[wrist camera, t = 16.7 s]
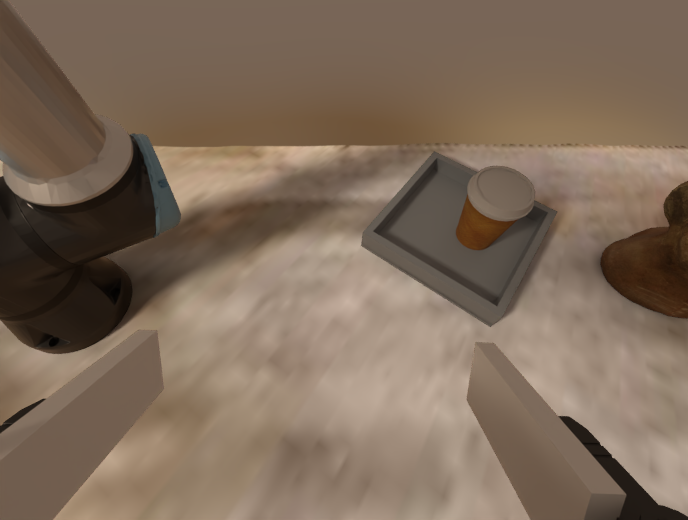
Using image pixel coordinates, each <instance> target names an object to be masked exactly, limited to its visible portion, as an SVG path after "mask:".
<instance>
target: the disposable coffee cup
mask: <svg viewBox="0 0 688 520" xmlns="http://www.w3.org/2000/svg"><path fill="white" fill-rule="evenodd" d="M467 192H468V194H467V198H466V201H465V203H464V206H463V210H462V213H461V216H460V219H459V223H458V226H457V228H456V236H457V239H458V240H459V242H460V243H461V244H462V245H464V246H465V247H467V248H469V249H472V250H484V249H486V248H488V247H489V246H490V245H491V244H492V243H493V242H494V241H495V240H496V239H498V238H499V237H500V236H501V235H502V234H503V233H504V232H505V231H506V230H507V229H508V228H509V227H510V226H512V225H513V224H514V223H515V222H516V221H517V220H518V219H520V218H522V217H524V216H526V215H527V214H528V213H529V212H530V211H531V210H532V208H533V206H534V199H535V190H534V187H533V185H532V183H531V182H530V180H529V179H528V178H527V177H526V176H524V175H523V174H521V173H520V172H518V171H516V170H514V169H512V168H508V167H504V166H490V167H486V168H484V169H482V170H480V171H479V172H478V173H477V174H475V175H474V176H473V177H472V178H471V179H470V181H469V183H468V186H467Z"/></svg>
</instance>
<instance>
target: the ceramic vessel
mask: <svg viewBox="0 0 688 520" xmlns="http://www.w3.org/2000/svg"><path fill="white" fill-rule="evenodd" d="M664 213H665V216H666V218H667V220H668V222H669V225H670V226H669V227H657V228H650V229H646V230H644V231H641V232H638V233H636V234H634V235H632V236H630V237H629V238H627V239H622V240H619V241H617V242H614V243H613V244H611V245H609V246H608V247H607V248H606V249H605V251H604V252H603V254H602V258H601V266H602V270H603V274H604V276H605V278H606V279H607V281H608V282H609V283H610V284H611V285H612V287H613V288H614V289H616V290H617V291H618V292H619V293H620V294H621V295H623V296H624V297H626V298H627V299H628V300H630V301H632V302H634V303H636V304H639V305H641V306H643V307H645V308H648V309H650V310H653V311H656V312H660V313H663V314H665V315H667V316H672V317H678V318H688V181H687V182H685V183H682V184H680V185H679V186H678V187H676V188H675V189H674V190H672V192H671V193H670V194H669V195H668V197H667V198H666V200H665V203H664Z"/></svg>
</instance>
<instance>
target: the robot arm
mask: <svg viewBox="0 0 688 520" xmlns="http://www.w3.org/2000/svg"><path fill="white" fill-rule="evenodd" d="M0 160H1V161H3V176H2V177H0V320H1V321H2V322H3V323H4V324H5V325H6V326H7V328H8V329H9V330H10V331H11V332H12V333H13V334H14V335H15V336H16V337H17V338H18V339H19V340H20V341H21V342H22V343H24V344H26V345H27V346H29V347H32V348H34V349H37V350H40V351H43V352H46V353H52V354H63V353H70V352H74V351H78V350H81V349H83V348H86V347H88V346H90V345H92V344H94V343H95V342H97V341H99V340H100V339H102V338H103V337H104V336H106V335H107V334H108V333H109V332H110V331H111V330H112V329H113V328H114V327H115V326H116V325H117V324H118V323H119V322H120V320H121V319H122V317H123V316H124V314H125V313H126V311H127V309H128V306H129V304H130V300H131V295H132V286H131V282H130V279H129V277H128V275H127V274H126V272H125V271H124V270H123V269H122V268H120V267H119V266H118V265H117V264H116V263H114V262H113V261H111V260H109V259H108V258H105V257H103V256H106V255H108V254H111V253H113V252H116V251H119V250H121V249H124V248H127V247H129V246H132V245H134V244H137V243H140V242H142V241H145V240H148V239H150V238H155V237H157V236H158V235H159V234H160V233H162V232H164V231H167V230H169V229H171V228H173V227H175V226H176V225H178V223H179V222H180V219H181V213H180V210H179V208H178V205H177V202H176V200H175V198H174V195H173V193H172V191H171V188H170V186H169V184H168V182H167V179H166V177H165V174H164V172H163V169H162V167H161V165H160V162H159V160H158V158H157V155H156V153H155V151H154V149H153V147H152V144H151V142H150V140H149V138H148V137H147V136H146V135H144V134H131V135H129V134H128V133H127V132H126V131H125V130H124V128H123V127H122V126H121V125H120V124H118V123H117V122H116V121H114V120H112V119H110V118H107V117H104V116H101V115H97V114H94V113H93V112H92V110H91V109H90V107H89V106H88V105H87V103H86V102H85V101H84V100H83V98H82V97H81V95H80V94H79V93H78V92H77V90H76V89H75V87H74V86H73V85H72V83H71V82H70V81H69V79H68V78H67V77H66V75H65V74H64V73H63V71H62V70H61V69H60V67H59V66H58V65H57V63H56V62H55V61H54V59H53V58H52V57H51V55H50V54H49V53H48V51H47V50H46V49H45V47H44V46H43V45H42V43H41V42H40V41H39V39H38V38H37V37H36V35H35V34H34V33H33V31H32V30H31V28H30V27H29V26H28V24H27V23H26V22H25V20H24V19H23V18H22V17H21V15H20V14H19V13H18V11H17V10H16V9H15V7H14V6H13V4H12V3H11V2H10V1H9V0H0ZM163 389H164V385H163V376H162V368H161V359H160V350H159V342H158V333H157V331H155V330H138V331H136V332H135V333H134V334H132V335H131V336H130V337H128V338H127V339H126V340H124V341H123V342H122V343H120V344H119V345H118V346H116V347H115V348H114V349H112V350H111V351H110V352H108V353H107V354H106V355H104V356H103V357H102V358H100V359H99V360H98V361H96V362H95V363H94V364H92V365H91V366H90V367H88V368H87V369H86V370H84V371H83V372H82V373H80V374H79V375H78V376H76V377H75V378H74V379H72V380H71V381H70V382H68V383H67V384H66V385H64V386H63V387H62V388H60V389H59V390H58V391H56V392H55V393H54V394H52V395H51V396H50V397H48V398H47V399H42V400H40V401H38V402H36V403H34V404H32V405H30V406H28V407H26V408H24V409H22V410H20V411H19V412H17V413H16V414H15V415H13V416H12V417H11V418H9V419H8V420H6V421H5V422H4V423H3V425H2V426H0V520H53V519H54V518H55V516H56V515H57V514H58V513H59V512H60V511H61V509H62V508H63V507H64V506H65V505H66V503H67V502H68V501H69V500H70V499H71V498H72V496H73V495H74V494H75V493H76V492H77V491H78V489H79V488H80V487H81V486H82V485H83V483H84V482H85V481H86V480H87V479H88V478H89V476H90V475H91V474H92V473H93V472H94V470H95V469H96V468H97V467H98V466H99V465H100V463H101V462H102V461H103V460H104V459H105V458H106V456H107V455H108V454H109V453H110V452H111V450H112V449H113V448H114V447H115V446H116V445H117V443H118V442H119V441H120V440H121V439H122V438H123V436H124V435H125V434H126V433H127V432H128V430H129V429H130V428H131V427H132V426H133V425H134V423H135V422H136V421H137V420H138V419H139V417H140V416H141V415H142V414H143V413H144V412H145V410H146V409H147V408H148V407H149V406H150V405H151V403H152V402H153V401H154V400H155V399H156V397H157V396H158V395H159V394H160V393H161V392H162V390H163ZM467 401H468V403H469V405H470V407H471V409H472V411H473V413H474V414H475V416H476V418H477V420H478V422H479V424H480V426H481V428H482V429H483V431H484V433H485V435H486V437H487V439H488V441H489V443H490V444H491V446H492V448H493V450H494V452H495V454H496V456H497V458H498V459H499V461H500V463H501V465H502V467H503V469H504V471H505V473H506V474H507V476H508V478H509V480H510V482H511V484H512V486H513V488H514V489H515V491H516V493H517V495H518V497H519V499H520V501H521V503H522V504H523V506H524V508H525V510H526V512H527V514H528V516H529V517H530V519H531V520H688V517H687V516H686V515H684V514H682V513H680V512H679V511H676V510H673V509H671V508H668V507H665V506H661V505H658V504H657V503H656V502H655V501H654V500H653V498H652V497H651V496H650V495H649V494H648V493H647V492H646V491H645V490H644V489H643V488H642V487H641V486H640V485H639V484H638V483H637V482H636V480H635V479H634V478H633V477H632V476H631V475H630V474H629V473H628V472H627V471H626V470H625V469H624V468H623V467H622V466H621V465H620V464H619V463H618V461H617V460H616V459H615V458H612V455H611V454H610V453H609V452H608V451H607V450H606V449H605V448H604V447H603V446H601V445H600V442H599V441H598V440H597V439H596V438H595V437H594V436H593V435H592V434H591V433H590V432H589V431H588V430H587V429H586V428H585V427H583V426H582V425H580V424H579V423H578V422H576V421H575V420H573V419H572V418H570V417H568V416H557V415H556V413H555V412H554V411H553V410H552V409H551V408H550V407H549V405H548V404H547V403H546V402H545V401H544V400H543V399H542V397H541V396H540V395H539V394H538V393H537V392H536V391H535V389H534V388H533V387H532V386H531V385H530V384H529V383H528V381H527V380H526V379H525V378H524V377H523V376H522V375H521V373H520V372H519V371H518V370H517V369H516V368H515V367H514V365H513V364H512V363H511V362H510V361H509V360H508V359H507V357H506V356H505V355H504V354H503V353H502V352H501V351H500V349H499V348H498V347H497V346H496V345H495V344H494V343H481V342H475V348H474V354H473V361H472V367H471V374H470V380H469V387H468V394H467Z"/></svg>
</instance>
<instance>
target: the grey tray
mask: <svg viewBox="0 0 688 520" xmlns="http://www.w3.org/2000/svg"><path fill="white" fill-rule="evenodd" d="M475 174H477V172H475V171H473V170H471V169H469V168H467V167H465V166H463V165H461V164H459V163H457V162H455V161H453V160H451V159H449V158H447V157H445V156H443V155H441V154H439V153H437V152H435V151H434V153H433V154H432V155H431V156H430V157H429V158H428V159H427V160H426V162H425V163H424V164H423V165H422V166H421V167H420V168H419V170H418V171H417V172H416V173H415V174H414V175H413V176H412V177H411V179H410V180H409V181H408V182H407V183H406V184H405V185H404V186H403V188H402V189H401V190H400V191H399V192H398V193H397V194H396V196H395V197H394V198H393V199H392V200H391V201H390V202H389V203H388V205H387V206H386V207H385V208H384V209H383V210H382V211H381V212H380V214H379V215H378V216H377V217H376V218H375V219H374V220H373V222H372V223H371V224H370V225H369V226H368V227H367V228H366V229H365V231H364V232H363V236H362V244H361V246H362V247H364V248H366V249H367V250H369V251H370V252H372V253H374V254H375V255H377V256H378V257H380V258H381V259H383V260H385V261H386V262H388V263H389V264H391V265H393V266H394V267H396V268H397V269H399V270H401V271H402V272H404V273H405V274H407V275H409V276H410V277H412V278H413V279H415V280H416V281H418V282H420V283H421V284H423V285H424V286H426V287H428V288H429V289H431V290H432V291H434V292H436V293H437V294H439V295H440V296H442V297H443V298H445V299H447V300H448V301H450V302H451V303H453V304H455V305H456V306H458V307H459V308H461V309H463V310H464V311H466V312H467V313H469V314H471V315H472V316H474V317H475V318H477V319H478V320H480V321H482V322H483V323H485V324H486V325H488V326H490V327H491V326H492V325H493V324H494V323H496V322H497V321H498V320H499V319H501V318H502V316H503V314H504V312H505V310H506V308H507V307H508V305H509V303H510V301H511V299H512V297H513V295H514V293H515V291H516V289H517V288H518V286H519V284H520V282H521V280H522V278H523V276H524V274H525V272H526V270H527V269H528V267H529V265H530V263H531V261H532V259H533V257H534V255H535V253H536V251H537V250H538V248H539V246H540V244H541V242H542V240H543V238H544V236H545V234H546V232H547V231H548V229H549V227H550V225H551V223H552V221H553V219H554V217H555V215H556V213H557V211H555V210H553V209H551V208H549V207H547V206H545V205H543V204H541V203H539V202H537V201H535V200H534V206H533V208H532V210H531V211H530V212H529V213H528V214H527V215H526V216H524V217H522V218H520V219H518V220H517V221H516V222H515V223H514V224H513V225H512V226H510V227H509V228H508V229H507V230H506V231H505V232H504V233H503V234H502V235H501V236H500V237H499V238H498V239H496V240H495V241H494V242H493V243H492V244H491V245H490V246H489V247H488V248H486V249H484V250H472V249H469V248H467V247H465V246H464V245H462V244H461V243H460V242H459V240H458V239H457V236H456V228H457V226H458V223H459V219H460V216H461V213H462V210H463V206H464V203H465V201H466V198H467V194H468V192H467V186H468V183H469V181H470V179H471V178H472V177H473V176H474V175H475Z"/></svg>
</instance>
